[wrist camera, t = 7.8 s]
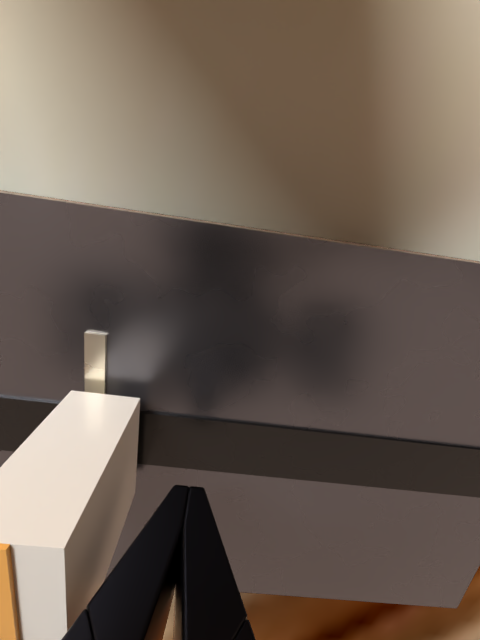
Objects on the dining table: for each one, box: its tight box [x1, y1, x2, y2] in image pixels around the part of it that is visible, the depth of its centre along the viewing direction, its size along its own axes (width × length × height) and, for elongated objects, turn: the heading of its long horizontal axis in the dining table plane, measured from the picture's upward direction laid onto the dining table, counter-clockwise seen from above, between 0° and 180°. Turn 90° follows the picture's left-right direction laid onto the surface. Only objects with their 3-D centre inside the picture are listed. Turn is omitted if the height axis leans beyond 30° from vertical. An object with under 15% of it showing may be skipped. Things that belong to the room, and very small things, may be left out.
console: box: [0, 190, 480, 608], centre depth 12 cm, size 20×14×2 cm
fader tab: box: [0, 390, 140, 640], centre depth 8 cm, size 2×4×5 cm, turn 172°
